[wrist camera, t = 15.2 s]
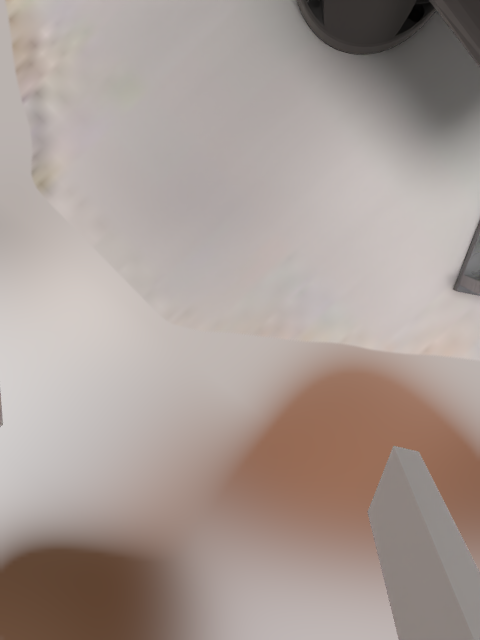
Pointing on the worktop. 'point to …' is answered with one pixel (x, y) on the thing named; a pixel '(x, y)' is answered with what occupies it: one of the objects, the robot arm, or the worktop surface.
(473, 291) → the track
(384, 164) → the worktop surface
